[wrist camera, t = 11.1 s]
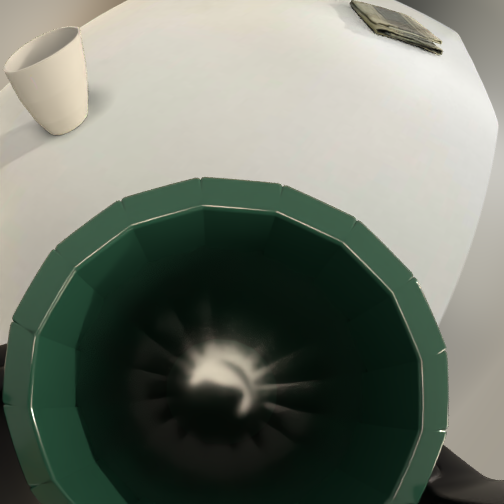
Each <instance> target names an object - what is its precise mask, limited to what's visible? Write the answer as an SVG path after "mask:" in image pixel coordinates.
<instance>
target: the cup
mask: <svg viewBox="0 0 504 504" xmlns="http://www.w3.org/2000/svg"><path fill="white" fill-rule="evenodd" d="M4 72H5V74H6V75H7V77H8V79H9V81H10V83H11V85H12V87H13V89H14V91H15V92H16V94H17V96H18V98H19V100H20V101H21V102H22V104H23V105H24V106H25V108H26V109H27V110H28V111H29V113H30V114H31V115H32V117H33V118H34V119H35V120H36V122H38V123H39V124H40V125H41V126H42V127H43V128H44V129H46V130H47V131H48V132H49V133H50V134H52V135H62V134H65V133H68V132H70V131H72V130H73V129H75V128H76V127H78V126H79V125H80V124H81V123H82V122H83V121H84V120H85V118H86V116H87V113H88V81H87V69H86V61H85V55H84V50H83V44H82V38H81V32H80V28H78V27H75V26H68V27H63V28H58V29H55V30H52V31H50V32H47V33H45V34H42V35H41V36H38V37H37V38H35V39H33V40H31V41H30V42H28V43H26V44H25V45H24V46H22V47H21V48H20V49H18V50H17V51H16V52H15V53H14V54H13V55H12V56H11V57H10V58H9V59H8V60H7V62H6V63H5V65H4Z"/></svg>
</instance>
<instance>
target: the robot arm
mask: <svg viewBox="0 0 504 504" xmlns="http://www.w3.org/2000/svg"><path fill="white" fill-rule="evenodd" d="M6 350H7V344H3V345H0V504H40V503H39V501H38V500H37V499H36V498H35V496H34V495H33V494H32V492H31V491H30V486H28V484H27V482H26V480H25V477H24V475H23V472H22V470H21V467H20V464H19V461H18V459H17V456H16V453H15V450H14V447H13V444H12V440H11V437H10V434H9V430H8V427H7V423H6V419H5V415H4V411H3V406H4V405H5V404H4V403H3V402H2V390H3V377H4V367H5V358H6ZM418 504H504V480H494V479H490V478H487V477H485V476H483V475H482V474H480V473H479V472H478V471H476V470H475V469H474V468H472V467H471V466H470V465H468V464H467V463H466V462H465V461H463V460H462V459H461V458H459V457H458V456H457V455H456V454H454V453H453V452H452V451H451V450H449V449H448V448H447V447H445V446H444V445H443V446H442V449H441V452H440V454H439V457H438V459H437V462H436V464H435V467H434V469H433V472H432V474H431V476H430V479H429V481H428V483H427V486H426V488H425V490H424V492H423V494H422V496H421V498H420V500H419V502H418Z"/></svg>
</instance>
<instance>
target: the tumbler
mask: <svg viewBox="0 0 504 504" xmlns="http://www.w3.org/2000/svg"><path fill="white" fill-rule="evenodd" d="M55 249H56V250H54V249H53V250H52V251H51V252H50V254H49V255H48V257H47V258H46V260H45V261H44V263H43V264H42V266H41V268H40V269H39V271H38V273H37V274H36V276H35V277H34V279H33V281H32V283H31V284H30V286H29V288H28V289H27V291H26V293H25V295H24V296H23V298H22V300H21V302H20V304H19V305H18V307H17V309H16V311H15V313H14V315H13V317H12V319H13V321H14V322H12V323H11V325H10V330H9V337H8V343H7V350H6V358H5V367H4V377H3V390H2V402H3V403H4V404H5V405H4V406H3V411H4V415H5V419H6V423H7V427H8V430H9V434H10V437H11V440H12V444H13V447H14V450H15V453H16V456H17V459H18V461H19V464H20V467H21V470H22V472H23V475H24V477H25V480H26V482H27V484H28V486H30V491H31V492H32V494H33V495H34V496H35V498H36V499H37V500H38V501H39V503H40V504H418V502H419V500H420V498H421V496H422V494H423V492H424V490H425V488H426V486H427V483H428V481H429V479H430V476H431V474H432V472H433V469H434V467H435V464H436V462H437V459H438V457H439V454H440V452H441V449H442V446H443V443H444V441H445V438H446V434H447V432H446V431H445V430H446V429H447V428H448V416H449V414H448V413H449V386H448V361H447V353H446V351H445V349H446V345H445V343H444V340H443V338H442V335H441V333H440V330H439V328H438V325H437V323H436V321H435V318H434V316H433V313H432V311H431V309H430V307H429V304H428V302H427V300H426V298H425V295H424V293H423V291H422V289H421V287H420V285H419V283H418V281H417V279H416V278H415V277H413V274H412V272H411V271H410V270H409V269H408V268H407V267H406V266H405V265H404V264H403V263H402V262H401V261H400V260H399V259H398V258H397V257H396V256H395V255H394V254H393V253H392V252H391V251H390V250H389V249H388V248H387V247H386V246H385V245H384V244H383V243H382V242H381V241H380V240H379V239H378V238H377V237H376V236H375V235H374V234H373V233H372V232H371V231H370V230H369V229H368V228H367V227H366V226H365V225H364V224H363V223H362V222H361V221H359V220H358V221H356V218H355V217H354V216H352V215H350V214H347V213H345V212H343V211H341V210H339V209H337V208H335V207H333V206H331V205H329V204H326V203H324V202H322V201H320V200H318V199H316V198H314V197H311V196H309V195H307V194H305V193H303V192H300V191H298V190H296V189H294V188H291V187H289V186H285V185H284V186H283V187H282V185H281V184H279V183H270V182H260V181H250V180H238V179H226V178H213V177H202V178H201V180H200V179H199V178H193V179H189V180H185V181H181V182H177V183H174V184H170V185H166V186H162V187H159V188H155V189H151V190H148V191H144V192H141V193H137V194H134V195H131V196H127V197H124V198H123V199H122V201H116V202H114V203H113V204H112V205H110V206H109V207H107V208H106V209H104V210H103V211H102V212H100V213H99V214H98V215H96V216H95V217H93V218H92V219H91V220H89V221H88V222H87V223H85V224H84V225H83V226H81V227H80V228H79V229H77V230H76V231H75V232H73V233H72V234H71V235H70V236H68V237H67V238H66V239H64V240H63V241H62V242H61V243H59V244H58V245H57V246H56V248H55Z"/></svg>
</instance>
